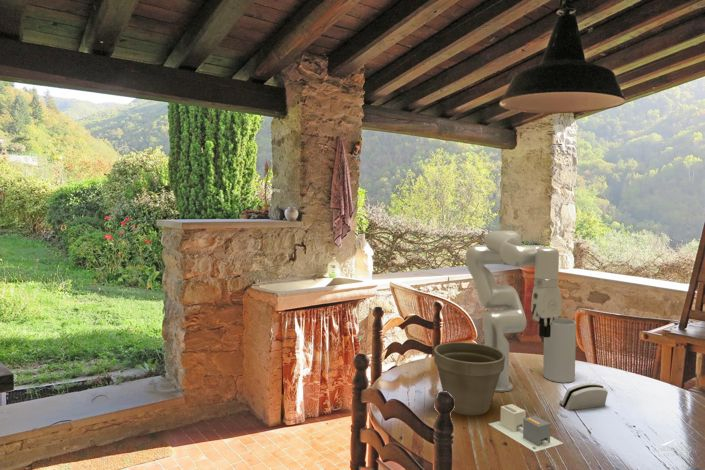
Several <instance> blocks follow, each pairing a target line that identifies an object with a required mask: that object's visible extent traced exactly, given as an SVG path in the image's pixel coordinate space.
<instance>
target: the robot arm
mask: <svg viewBox="0 0 705 470" xmlns="http://www.w3.org/2000/svg"><path fill="white" fill-rule="evenodd" d="M483 242H484V244H479V245H473V246H470V247H469V248H467V250H466V253H465V263H466V267H467V270H468V271H469V274H470V275H471V277H472V279H473V282H474V285H475V288H476V291H477V295H478V298H479V301H480V304H481V306H482V307H483V308H484V309H488V311H487V312H485V313H484V315H483V316H482V324H483V325H482V326H483V331H484V345H487V346H491V347H494V348H496V349H498V350H500V351H502V352H503V353H504V354H505V362H504V370H503V371H502V372H501V373H500V376H499V379H498V383H497V386H496V389H495V392H497V393H498V392H499V393H501V392H502V393H503V392H510V391H512V390H513V388H514V387H513V383H511V382H510V381H509V380H510V344H509V341H508V340H507V337H506V336H505V334H511V333H512V334H513V333H521V332H523V331H525V329H526V328H527V322H528V321H527V318H526V314H525V310H524V308H523V305H522V302H521V298H520V296H519V293H518V291H517V290H516V288H514V287H513V286H511V285H509V284H508V285H499V284H497V281H496V278H495V275H494V274H493V272H492V271H491V270H490V269H489V268H488V267H487V266H485V265H502V264H505V263H506V264H507V265H510V266H513V267H518V268H520V267H522V268H524V267H534V281H533V285H534V287H533V290H532V295H531V302H530V312H531V316H532V320H533V321H535V322H537V323H538V325H539V336H540V337H542V338H544V337H546V338H547V337H550V335H551V326H550V325H552V322H553V320H554V319H556V318H559V317H560V316H562V313H563V312H562V311H563V309H562V308H563V306H562V305H563V303H562V293H561V289H560V287H559V272H560V271H559V270H560V269H559V268H560V267H559V265H560V263H559V262H560V260H559V257H560V252H559V249H558V248H556V247H550V246H549V247H548V246H545V245H542V244H541V245H537V244H534V245H531V244H528V245H522V239H521V236H520V234H519V233H518V232H517V231H515V230H493V231H489V232H488V233H487V234H485V236H484V238H483ZM489 309H490V310H489ZM491 309H492V310H491Z"/></svg>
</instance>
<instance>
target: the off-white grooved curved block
mask: <svg viewBox="0 0 705 470" xmlns="http://www.w3.org/2000/svg"><path fill="white" fill-rule="evenodd" d="M607 398H608V390H607V389H606V388H604V386H603V385H601V384H599V383H596V382H595V383H593V382H585V383H580V384H576V385H573V386H570V387H568V389H566V392H565V394H564V396H563V399H561V400H559V402H558V405H559V406H562V407H563V406H564V408H565V410H567V411H570V410H571V411H573V410H579V409H587V408H594V407H602V406H606V401H607Z"/></svg>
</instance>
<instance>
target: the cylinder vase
mask: <svg viewBox="0 0 705 470" xmlns="http://www.w3.org/2000/svg"><path fill="white" fill-rule="evenodd" d="M550 326H551V335H550V337H547V338H546V337H543V355H542V356H543V365H542V366H543V368H542V375H543V377H544V378H545V379H546V380H549V381H551V382H555V383H559V384H561V383H562V384H566V383H567V384H569V383H573V382H574V381H575V379H576V346H577V344H576V343H577V342H576V339H577V338H576V337H577V321H575V320H573V319H570V318H565V317H563V318H562V317H558V318H556V319H554V320H553V322H552V325H550Z"/></svg>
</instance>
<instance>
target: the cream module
mask: <svg viewBox="0 0 705 470" xmlns="http://www.w3.org/2000/svg"><path fill="white" fill-rule="evenodd" d="M526 414H527V413H526V410H525V409H523V408H521V407H519V406H517V405H515V404H512V403H510V404H506V405H502V406H500V420H499V421H500V424H501V425H503V426H504V427H506V428H508V429H509V430H511V431H513V432H516V430H517V426H518V425H519V426H521V427H523V419H524V418H527V417H526Z"/></svg>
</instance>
